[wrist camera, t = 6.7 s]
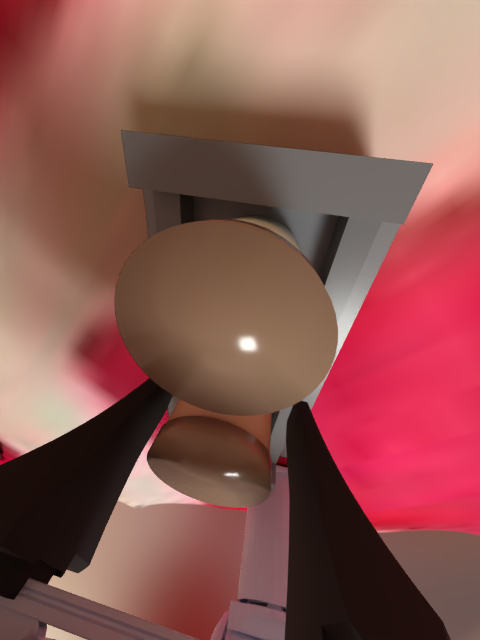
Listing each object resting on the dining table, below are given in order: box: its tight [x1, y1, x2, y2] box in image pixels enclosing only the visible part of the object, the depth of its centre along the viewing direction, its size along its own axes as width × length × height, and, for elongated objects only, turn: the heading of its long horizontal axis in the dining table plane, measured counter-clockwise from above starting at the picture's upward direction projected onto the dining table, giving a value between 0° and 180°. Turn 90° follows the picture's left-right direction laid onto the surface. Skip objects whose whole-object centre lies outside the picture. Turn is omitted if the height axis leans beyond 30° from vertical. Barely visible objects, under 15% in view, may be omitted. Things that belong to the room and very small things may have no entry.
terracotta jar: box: [147, 399, 272, 507], centre depth 11 cm, size 5×5×7 cm
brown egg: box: [114, 215, 338, 416], centre depth 7 cm, size 5×5×7 cm
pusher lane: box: [121, 130, 433, 492], centre depth 13 cm, size 22×12×4 cm, turn 173°
